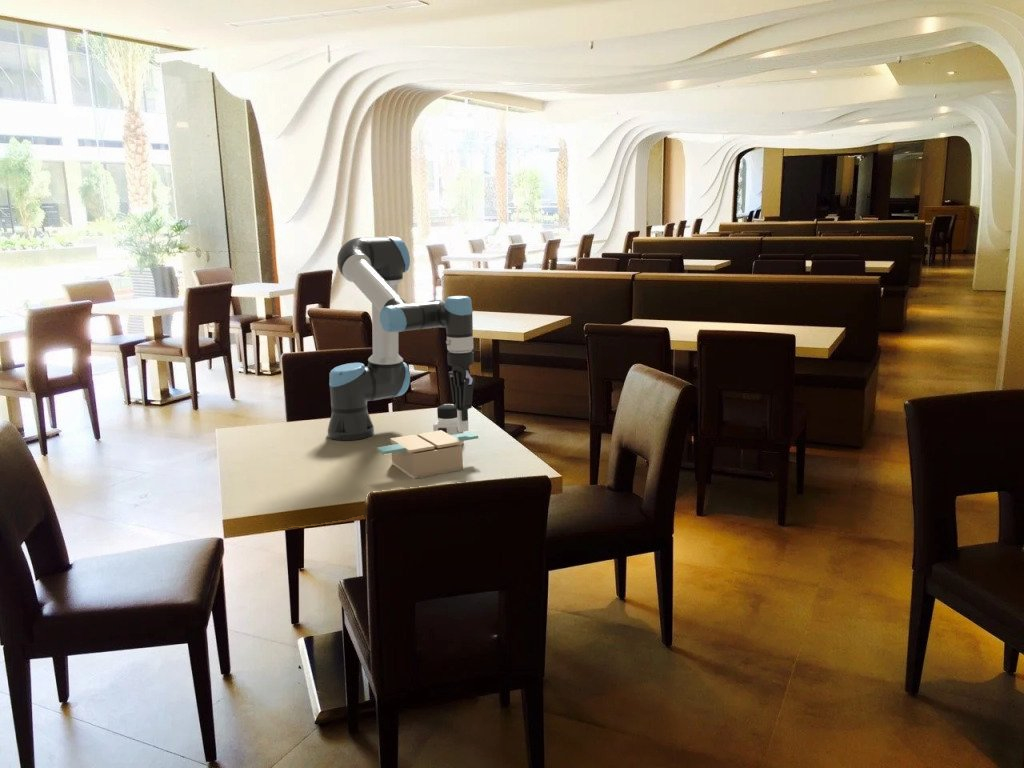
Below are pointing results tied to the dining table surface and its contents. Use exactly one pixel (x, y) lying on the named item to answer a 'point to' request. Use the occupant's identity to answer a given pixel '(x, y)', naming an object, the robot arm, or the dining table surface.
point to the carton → (429, 461)
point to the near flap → (406, 445)
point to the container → (447, 420)
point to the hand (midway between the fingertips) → (463, 430)
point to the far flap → (446, 438)
